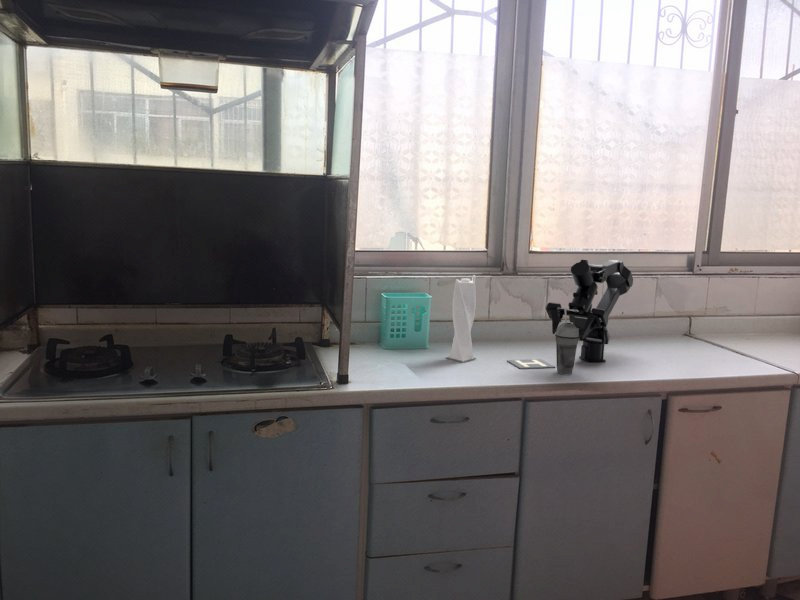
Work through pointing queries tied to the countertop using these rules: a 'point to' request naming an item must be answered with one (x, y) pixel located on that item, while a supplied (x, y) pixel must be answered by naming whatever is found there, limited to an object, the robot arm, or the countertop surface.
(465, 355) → the skyscraper
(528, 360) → the letter card
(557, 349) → the beverage cup
